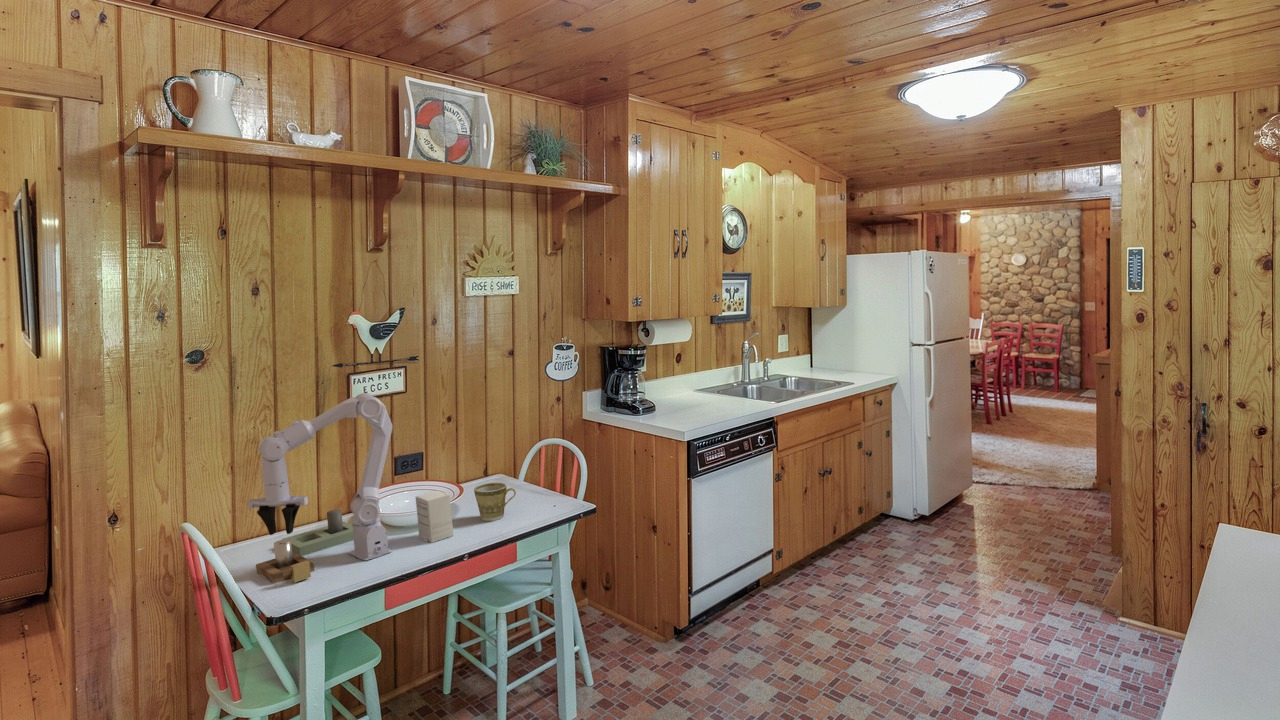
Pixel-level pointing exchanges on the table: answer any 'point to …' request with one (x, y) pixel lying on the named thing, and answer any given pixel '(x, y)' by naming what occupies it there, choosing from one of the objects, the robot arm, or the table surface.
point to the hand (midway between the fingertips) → (281, 533)
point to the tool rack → (323, 535)
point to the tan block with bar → (300, 571)
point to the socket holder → (278, 575)
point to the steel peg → (283, 553)
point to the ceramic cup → (491, 500)
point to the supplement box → (434, 516)
